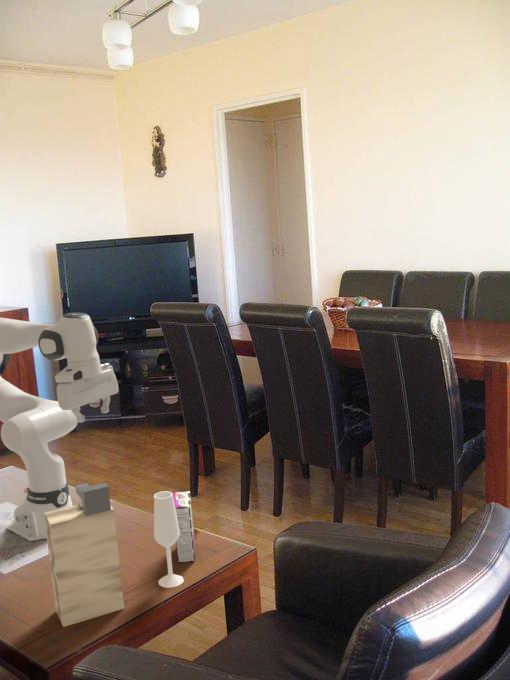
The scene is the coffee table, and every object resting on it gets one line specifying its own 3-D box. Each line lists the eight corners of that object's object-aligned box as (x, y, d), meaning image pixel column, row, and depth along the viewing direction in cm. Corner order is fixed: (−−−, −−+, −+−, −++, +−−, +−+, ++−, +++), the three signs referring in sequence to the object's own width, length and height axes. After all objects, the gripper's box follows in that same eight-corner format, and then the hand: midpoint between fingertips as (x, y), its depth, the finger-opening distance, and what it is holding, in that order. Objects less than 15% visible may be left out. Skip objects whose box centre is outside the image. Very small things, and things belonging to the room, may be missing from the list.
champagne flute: (174, 589, 190) (166, 501, 185) (153, 584, 193) (144, 497, 188) (188, 577, 195) (181, 491, 191) (168, 572, 199) (160, 488, 194)
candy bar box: (177, 545, 214) (173, 491, 211) (195, 543, 214) (190, 490, 211) (177, 563, 203) (172, 507, 200) (195, 562, 203) (190, 506, 200)
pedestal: (55, 611, 183) (43, 508, 178) (115, 594, 189) (104, 493, 184) (63, 627, 176) (50, 520, 171) (124, 608, 182) (113, 504, 177)
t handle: (70, 494, 189) (67, 471, 187) (93, 488, 191) (91, 466, 190) (86, 516, 174) (83, 492, 173) (110, 510, 177) (108, 486, 176)
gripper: (103, 362, 219) (111, 407, 220) (49, 378, 202) (59, 427, 204) (119, 361, 215) (126, 407, 217) (65, 377, 198) (74, 427, 200)
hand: (93, 417), depth 210 cm, fingers open, 8 cm apart
